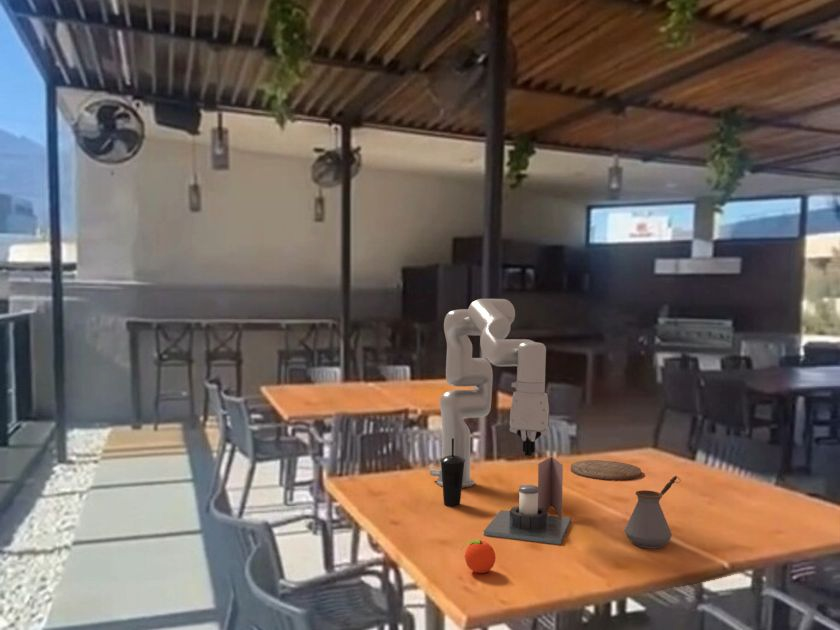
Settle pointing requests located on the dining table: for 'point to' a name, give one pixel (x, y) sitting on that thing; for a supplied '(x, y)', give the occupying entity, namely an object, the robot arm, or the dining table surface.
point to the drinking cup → (452, 478)
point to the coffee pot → (649, 520)
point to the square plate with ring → (529, 526)
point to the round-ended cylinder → (528, 499)
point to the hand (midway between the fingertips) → (528, 454)
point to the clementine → (480, 556)
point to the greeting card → (550, 484)
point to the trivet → (605, 470)
